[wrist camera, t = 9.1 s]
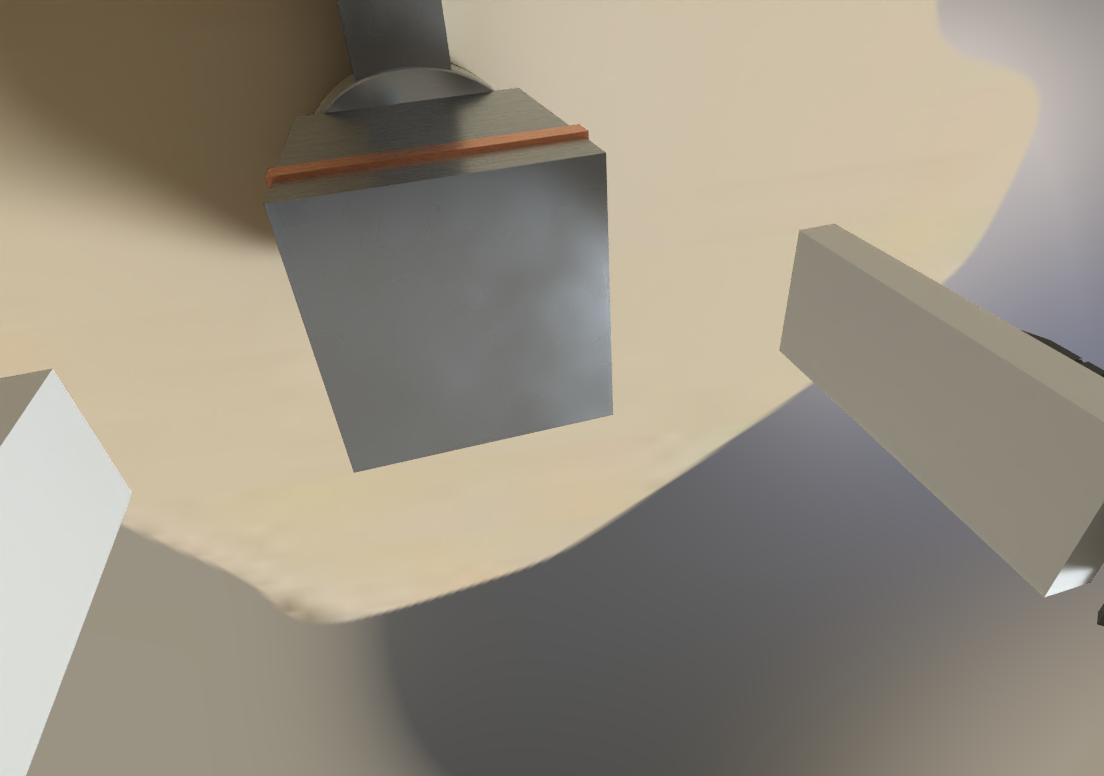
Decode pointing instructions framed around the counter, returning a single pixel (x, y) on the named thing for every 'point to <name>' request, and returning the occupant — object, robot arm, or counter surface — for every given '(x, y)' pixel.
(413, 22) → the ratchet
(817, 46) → the counter surface
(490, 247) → the orange-striped grey cube
